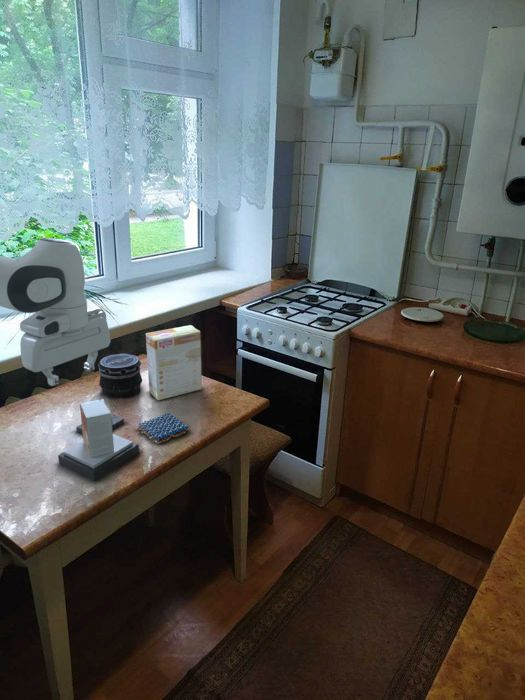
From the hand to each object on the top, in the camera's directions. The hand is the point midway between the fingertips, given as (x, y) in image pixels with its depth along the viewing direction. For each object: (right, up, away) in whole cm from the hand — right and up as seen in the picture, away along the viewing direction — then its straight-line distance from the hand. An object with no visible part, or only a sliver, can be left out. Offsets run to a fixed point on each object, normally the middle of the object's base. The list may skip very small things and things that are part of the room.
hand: (72, 377), depth 108 cm
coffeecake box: (+15, -7, +45) cm, 48 cm away
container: (-2, -7, +45) cm, 46 cm away
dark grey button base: (-2, -15, +24) cm, 28 cm away
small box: (+3, -17, +10) cm, 20 cm away
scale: (+3, -20, +11) cm, 23 cm away
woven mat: (+15, -16, +23) cm, 32 cm away
